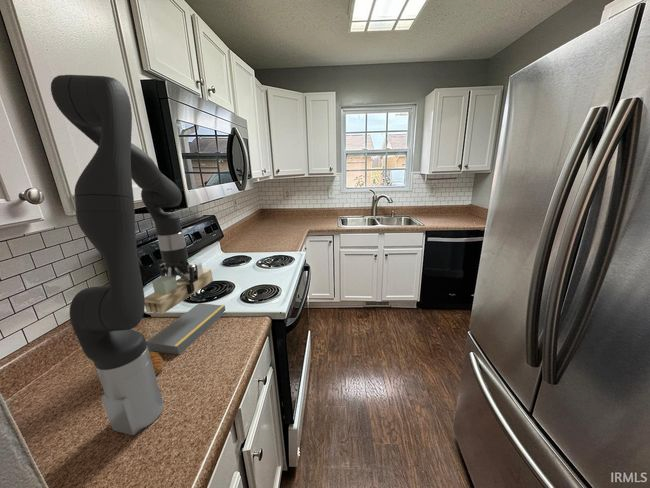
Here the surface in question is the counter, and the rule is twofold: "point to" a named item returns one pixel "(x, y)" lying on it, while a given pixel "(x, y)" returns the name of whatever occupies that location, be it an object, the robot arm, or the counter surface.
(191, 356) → the counter surface
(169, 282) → the crate sage
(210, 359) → the counter surface
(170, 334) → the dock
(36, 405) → the counter surface
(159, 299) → the beige blocky bar
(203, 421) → the counter surface
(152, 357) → the pastry
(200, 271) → the crate grey
